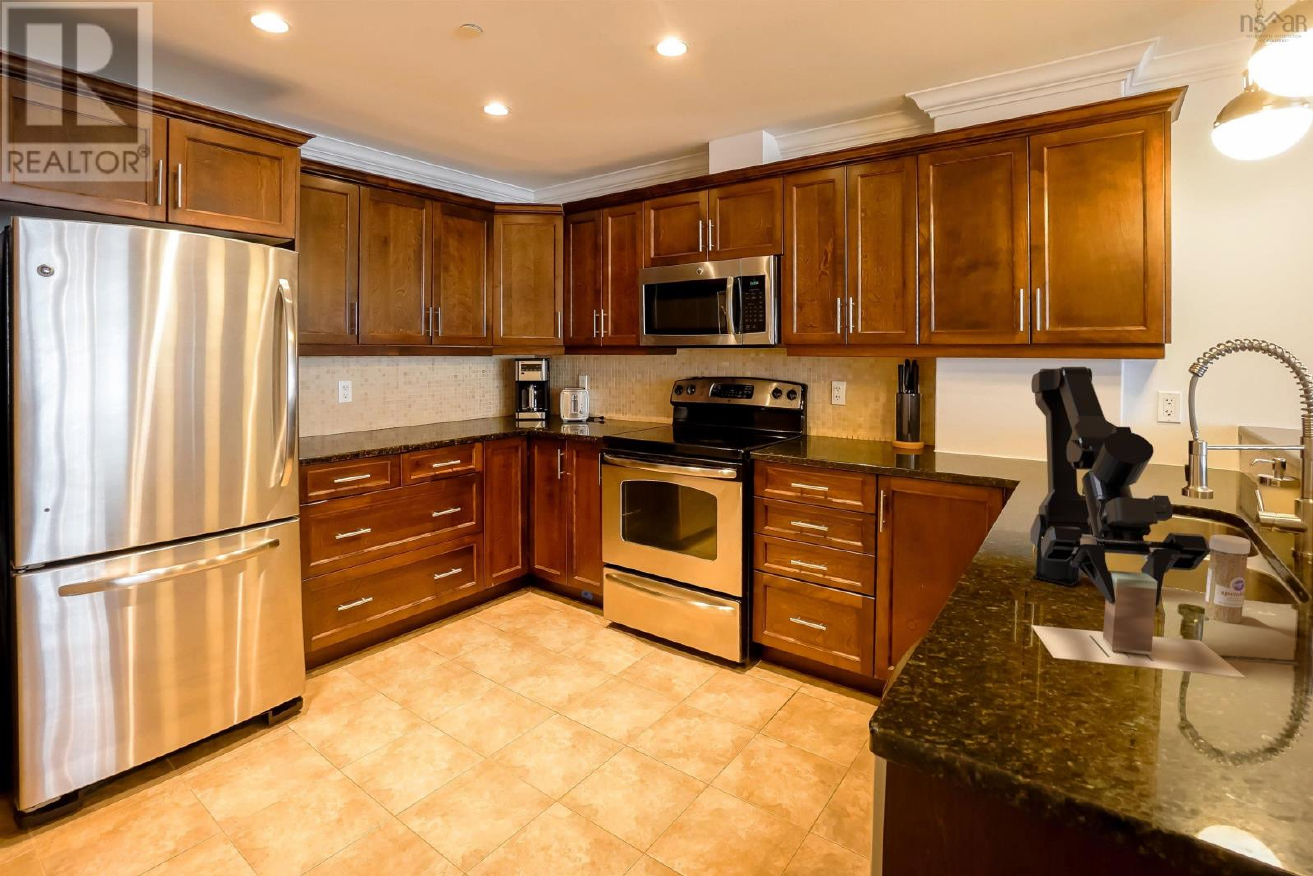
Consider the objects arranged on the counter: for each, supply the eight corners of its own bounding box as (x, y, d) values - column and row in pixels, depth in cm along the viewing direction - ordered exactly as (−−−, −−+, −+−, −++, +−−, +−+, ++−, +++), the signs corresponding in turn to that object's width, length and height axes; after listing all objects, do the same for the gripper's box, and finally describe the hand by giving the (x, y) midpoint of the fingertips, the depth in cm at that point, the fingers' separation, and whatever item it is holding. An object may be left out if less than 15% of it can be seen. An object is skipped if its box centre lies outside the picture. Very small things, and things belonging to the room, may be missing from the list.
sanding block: (1111, 650, 88) (1117, 578, 87) (1102, 640, 91) (1107, 570, 90) (1151, 654, 87) (1157, 581, 85) (1140, 643, 90) (1146, 573, 89)
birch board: (1053, 664, 87) (1053, 657, 87) (1031, 631, 97) (1031, 625, 97) (1244, 685, 81) (1245, 677, 81) (1199, 647, 92) (1200, 640, 91)
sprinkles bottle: (1228, 631, 97) (1236, 542, 95) (1195, 620, 101) (1202, 535, 99) (1249, 627, 98) (1258, 540, 96) (1216, 616, 102) (1224, 532, 101)
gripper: (1051, 470, 93) (1069, 570, 84) (1210, 475, 87) (1248, 583, 78) (1033, 512, 101) (1048, 607, 92) (1178, 519, 96) (1209, 621, 86)
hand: (1134, 604), depth 87 cm, fingers closed on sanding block, 4 cm apart
